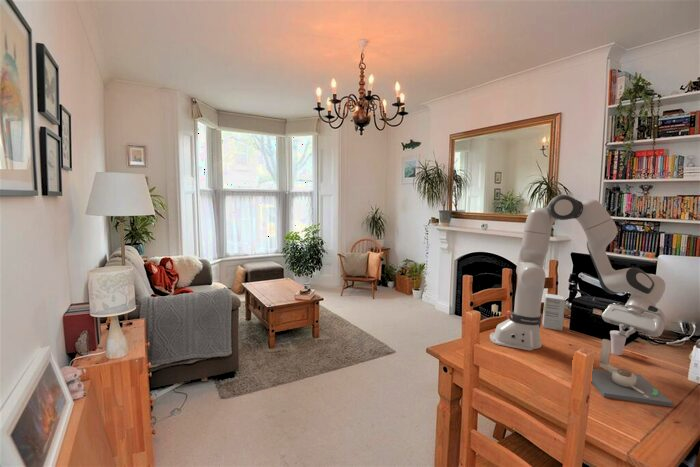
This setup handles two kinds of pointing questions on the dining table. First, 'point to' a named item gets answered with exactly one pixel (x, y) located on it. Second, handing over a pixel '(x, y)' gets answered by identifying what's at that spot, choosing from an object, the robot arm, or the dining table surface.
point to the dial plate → (628, 389)
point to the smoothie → (617, 343)
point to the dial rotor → (618, 375)
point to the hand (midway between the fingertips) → (622, 335)
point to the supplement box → (553, 312)
